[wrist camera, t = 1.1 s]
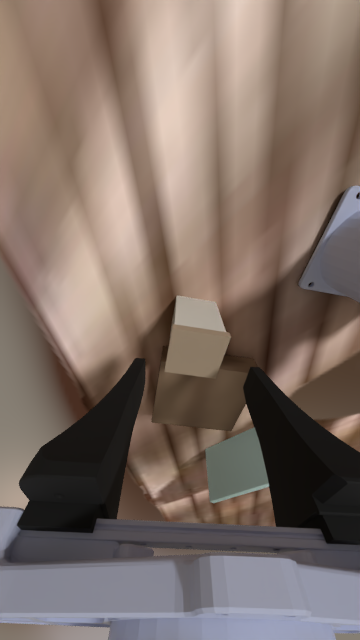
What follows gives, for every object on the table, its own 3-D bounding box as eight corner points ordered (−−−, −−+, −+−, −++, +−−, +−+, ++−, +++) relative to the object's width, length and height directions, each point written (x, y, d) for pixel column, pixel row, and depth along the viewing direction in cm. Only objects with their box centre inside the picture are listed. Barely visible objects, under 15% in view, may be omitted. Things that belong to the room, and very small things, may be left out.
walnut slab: (252, 356, 23) (261, 374, 21) (226, 411, 29) (231, 431, 26) (163, 343, 23) (161, 361, 20) (154, 402, 28) (151, 422, 25)
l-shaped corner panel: (205, 445, 34) (209, 501, 28) (264, 418, 30) (287, 477, 23) (242, 469, 38) (254, 522, 32) (299, 449, 34) (326, 505, 28)
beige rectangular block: (217, 300, 19) (231, 337, 14) (207, 335, 21) (215, 378, 16) (175, 293, 19) (172, 328, 13) (169, 329, 21) (164, 371, 16)
